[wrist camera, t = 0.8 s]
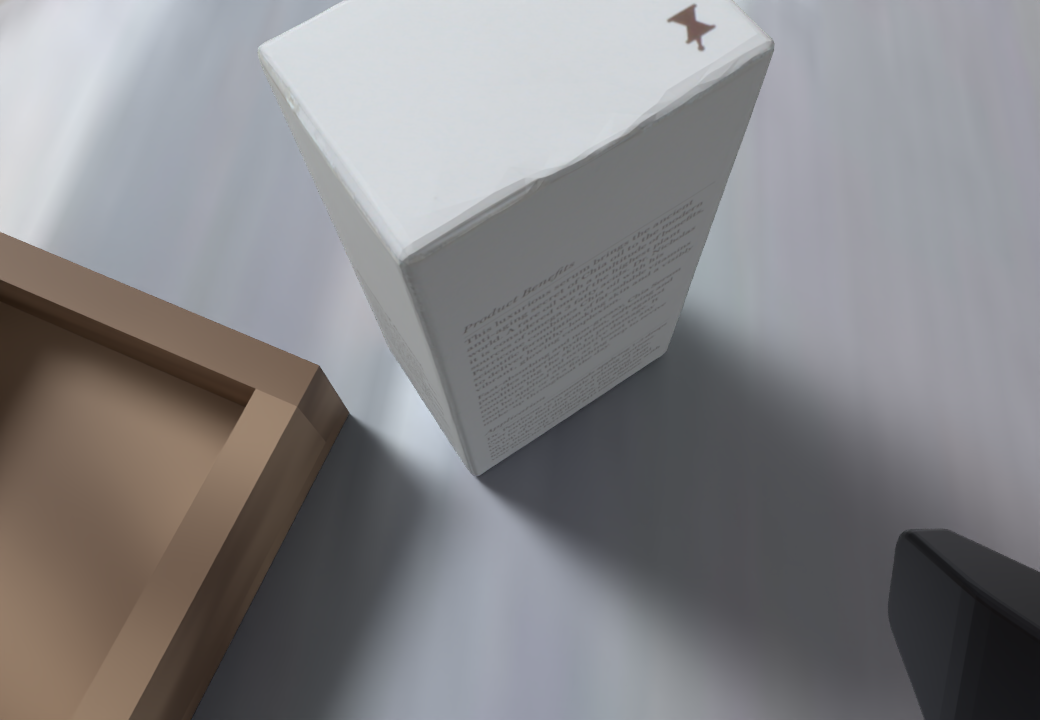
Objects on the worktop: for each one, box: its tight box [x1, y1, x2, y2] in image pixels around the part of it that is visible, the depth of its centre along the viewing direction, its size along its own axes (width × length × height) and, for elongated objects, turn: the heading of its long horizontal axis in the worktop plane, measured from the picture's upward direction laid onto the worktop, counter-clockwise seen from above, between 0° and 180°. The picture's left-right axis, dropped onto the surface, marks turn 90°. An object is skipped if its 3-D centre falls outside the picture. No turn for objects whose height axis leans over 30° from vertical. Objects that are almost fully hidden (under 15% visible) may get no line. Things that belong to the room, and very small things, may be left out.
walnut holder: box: [0, 232, 349, 720], centre depth 21 cm, size 11×11×4 cm
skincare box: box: [258, 0, 774, 476], centre depth 18 cm, size 6×4×12 cm
